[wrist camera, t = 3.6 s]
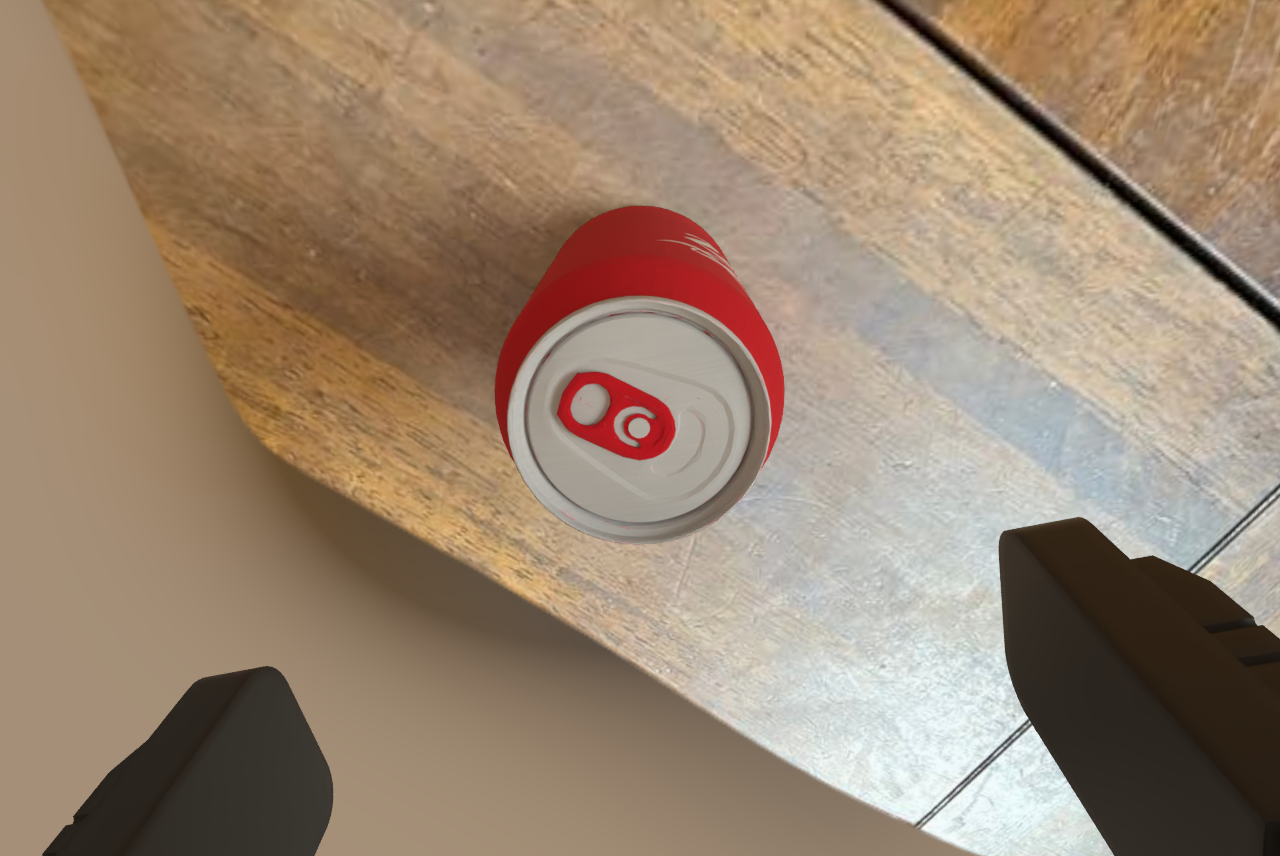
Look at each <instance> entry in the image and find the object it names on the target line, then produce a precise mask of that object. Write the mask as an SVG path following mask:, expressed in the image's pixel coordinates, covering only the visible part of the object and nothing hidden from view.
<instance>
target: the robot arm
mask: <svg viewBox="0 0 1280 856" xmlns="http://www.w3.org/2000/svg"><path fill="white" fill-rule="evenodd" d="M999 565H1000V581H1001V596H1002V611H1003V627H1004V642H1005V654H1006V660H1007V665H1008V670H1009V673H1010V677H1011V680H1012V683H1013V686H1014V689H1015V692H1016V694H1017V697H1018V699H1019V702H1020V704H1021V706H1022V708H1023V710H1024V712H1025V713H1026V715H1027V717H1028V718H1029V720H1030V722H1031V723H1032V725H1033V726H1034V728H1035V730H1036V731H1037V733H1038V734H1039V736H1040V738H1041V739H1042V741H1043V742H1044V744H1045V746H1046V747H1047V749H1048V750H1049V752H1050V754H1051V755H1052V757H1053V758H1054V760H1055V762H1056V763H1057V765H1058V766H1059V768H1060V769H1061V771H1062V773H1063V774H1064V776H1065V777H1066V779H1067V781H1068V782H1069V784H1070V785H1071V787H1072V789H1073V790H1074V792H1075V793H1076V795H1077V797H1078V798H1079V800H1080V801H1081V803H1082V805H1083V806H1084V808H1085V809H1086V811H1087V813H1088V814H1089V816H1090V817H1091V819H1092V821H1093V822H1094V824H1095V825H1096V827H1097V829H1098V830H1099V832H1100V833H1101V835H1102V837H1103V838H1104V840H1105V841H1106V843H1107V845H1108V846H1109V848H1110V849H1111V851H1112V853H1113V854H1114V856H1280V639H1279V638H1278V637H1277V636H1275V635H1274V634H1273V633H1272V632H1271V631H1269V630H1268V629H1267V628H1266V627H1265V626H1263V625H1261V626H1257V625H1256V623H1255V621H1254V617H1253V616H1251V615H1250V614H1249V613H1248V612H1247V611H1246V610H1244V609H1243V608H1242V607H1241V606H1240V605H1238V604H1237V603H1236V602H1235V601H1234V600H1232V599H1231V598H1230V597H1229V596H1228V595H1226V594H1225V593H1224V592H1223V591H1222V590H1220V589H1219V588H1218V587H1217V586H1216V585H1214V584H1213V583H1212V582H1211V581H1209V580H1207V579H1204V578H1202V577H1200V576H1198V575H1195V574H1193V573H1191V572H1189V571H1186V570H1184V569H1182V568H1180V567H1177V566H1175V565H1173V564H1171V563H1168V562H1166V561H1164V560H1162V559H1159V558H1157V557H1155V556H1147V557H1142V558H1136V559H1131V560H1130V559H1129V558H1128V557H1127V556H1126V555H1125V554H1124V553H1123V552H1122V551H1121V550H1120V549H1118V548H1117V547H1116V546H1115V545H1114V544H1113V543H1112V542H1111V541H1110V540H1109V539H1108V538H1107V537H1106V536H1104V535H1103V534H1102V533H1101V532H1100V531H1099V530H1098V529H1097V528H1096V527H1095V526H1094V525H1093V524H1092V523H1090V522H1089V521H1088V520H1086V519H1084V518H1081V517H1076V518H1071V519H1065V520H1060V521H1055V522H1049V523H1044V524H1039V525H1033V526H1028V527H1022V528H1017V529H1012V530H1007V531H1004V532H1003V533H1002V534H1001V536H1000V540H999ZM332 805H333V783H332V777H331V773H330V769H329V766H328V764H327V762H326V760H325V758H324V756H323V754H322V752H321V750H320V747H319V745H318V743H317V741H316V739H315V737H314V735H313V733H312V731H311V729H310V727H309V725H308V723H307V721H306V719H305V717H304V715H303V713H302V711H301V709H300V707H299V705H298V703H297V701H296V699H295V697H294V695H293V693H292V690H291V688H290V686H289V684H288V682H287V681H286V679H285V677H284V676H283V675H282V674H281V672H279V671H278V670H277V669H275V668H273V667H269V666H265V667H259V668H254V669H248V670H243V671H237V672H232V673H227V674H221V675H216V676H210V677H205V678H202V679H200V680H198V681H196V682H195V683H194V684H193V685H192V686H191V687H190V688H189V689H188V690H187V692H186V693H185V694H184V695H183V697H182V698H181V699H180V700H179V701H178V703H177V704H176V705H175V706H174V708H173V709H172V710H171V712H170V713H169V714H168V715H167V716H166V718H165V719H164V720H163V721H162V723H161V724H160V725H159V727H158V728H157V729H156V730H155V731H154V733H153V734H152V735H151V737H150V738H149V739H148V740H147V741H146V742H145V743H143V744H142V745H141V746H140V747H139V748H138V749H136V750H135V751H134V752H133V753H132V754H130V755H129V756H128V757H127V758H126V759H125V760H123V761H122V762H121V763H120V764H119V765H117V766H116V767H115V768H114V769H113V770H111V771H110V772H109V773H108V774H107V776H106V777H105V778H104V779H103V781H102V782H101V783H100V784H99V785H98V787H97V788H96V789H95V790H94V792H93V793H92V794H91V796H90V797H89V798H88V799H87V800H86V801H85V803H84V804H83V805H82V806H81V807H80V809H79V810H78V811H77V812H76V814H75V815H74V816H73V817H74V822H73V824H72V825H66V826H65V827H64V828H63V829H62V831H61V832H60V833H59V835H58V836H57V837H56V838H55V839H54V841H53V842H52V843H51V844H50V846H49V847H48V848H47V849H46V850H45V851H44V853H43V854H42V855H43V856H314V855H315V853H316V851H317V849H318V846H319V844H320V842H321V840H322V837H323V835H324V833H325V831H326V828H327V826H328V823H329V820H330V816H331V812H332Z"/></svg>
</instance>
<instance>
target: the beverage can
mask: <svg viewBox="0 0 1280 856" xmlns="http://www.w3.org/2000/svg"><path fill="white" fill-rule="evenodd" d="M495 405H496V415H497V419H498V423H499V427H500V431H501V434H502V437H503V441H504V443H505V445H506V447H507V450H508V452H509V454H510V456H511V458H512V460H513V461H514V463H515V464H516V467H517V469H518V471H519V473H520V475H521V477H522V479H523V481H524V482H525V484H526V485H527V486H528V488H529V489H530V491H531V492H532V493H533V495H534V496H535V497H536V499H537V500H538V501H539V502H540V503H541V504H542V505H543V506H544V507H545V508H546V509H547V510H548V511H549V512H551V513H552V514H553V515H554V516H556V517H557V518H558V519H560V520H561V521H563V522H564V523H565V524H567V525H569V526H571V527H573V528H574V529H576V530H578V531H580V532H582V533H584V534H587V535H590V536H593V537H596V538H598V539H601V540H606V541H611V542H615V543H622V544H633V545H638V544H655V543H664V542H668V541H672V540H676V539H680V538H683V537H687V536H690V535H692V534H694V533H696V532H698V531H701V530H703V529H705V528H707V527H709V526H710V525H712V524H713V523H715V522H716V521H718V520H719V519H721V518H722V517H724V516H725V515H726V514H727V513H728V512H729V511H730V510H731V509H733V508H734V507H735V506H736V505H737V504H738V503H739V502H740V501H741V499H742V498H743V497H744V496H745V495H746V494H747V493H748V491H749V490H750V488H751V487H752V485H753V483H754V482H755V480H756V478H757V476H758V474H759V472H760V470H761V468H762V467H763V465H764V464H765V462H766V460H767V459H768V457H769V455H770V453H771V450H772V448H773V446H774V443H775V441H776V438H777V436H778V432H779V428H780V424H781V421H782V415H783V407H784V376H783V370H782V365H781V360H780V357H779V353H778V350H777V347H776V345H775V342H774V340H773V337H772V335H771V333H770V331H769V329H768V328H767V326H766V324H765V322H764V321H763V319H762V317H761V316H760V314H759V312H758V311H757V309H756V307H755V306H754V304H753V302H752V301H751V299H750V297H749V296H748V294H747V292H746V291H745V289H744V287H743V286H742V284H741V282H740V281H739V279H738V277H737V276H736V274H735V272H734V271H733V269H732V267H731V266H730V264H729V262H728V261H727V259H726V257H725V256H724V254H723V252H722V251H721V249H720V248H719V246H718V245H717V243H716V242H715V241H714V240H713V238H712V237H711V236H710V235H709V234H708V233H707V232H706V231H705V230H704V229H702V228H701V227H700V226H699V225H697V224H696V223H694V222H693V221H692V220H690V219H688V218H686V217H685V216H683V215H681V214H678V213H676V212H673V211H670V210H667V209H663V208H658V207H653V206H629V207H623V208H618V209H615V210H611V211H608V212H606V213H603V214H601V215H599V216H597V217H595V218H593V219H591V220H590V221H588V222H587V223H585V224H584V225H583V226H581V227H580V228H579V229H578V230H577V231H575V232H574V233H573V234H572V236H571V237H570V238H569V239H568V240H567V241H566V243H565V244H564V245H563V246H562V248H561V250H560V251H559V253H558V254H557V256H556V258H555V259H554V261H553V262H552V264H551V265H550V267H549V269H548V270H547V272H546V273H545V275H544V277H543V278H542V280H541V281H540V283H539V284H538V286H537V288H536V289H535V291H534V292H533V294H532V296H531V297H530V299H529V300H528V302H527V303H526V305H525V307H524V308H523V310H522V311H521V313H520V315H519V316H518V318H517V319H516V321H515V323H514V324H513V326H512V328H511V329H510V331H509V334H508V336H507V338H506V340H505V342H504V345H503V348H502V350H501V353H500V357H499V361H498V366H497V371H496V378H495Z"/></svg>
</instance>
